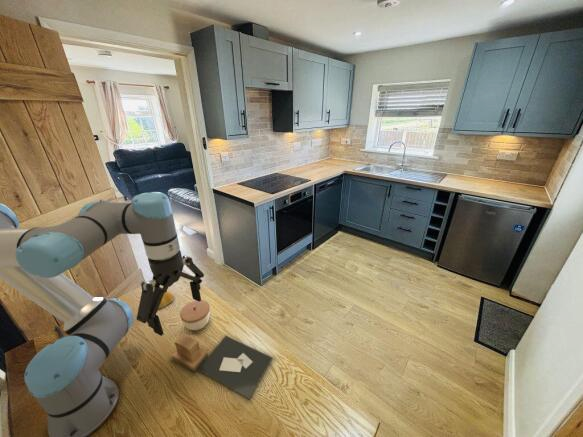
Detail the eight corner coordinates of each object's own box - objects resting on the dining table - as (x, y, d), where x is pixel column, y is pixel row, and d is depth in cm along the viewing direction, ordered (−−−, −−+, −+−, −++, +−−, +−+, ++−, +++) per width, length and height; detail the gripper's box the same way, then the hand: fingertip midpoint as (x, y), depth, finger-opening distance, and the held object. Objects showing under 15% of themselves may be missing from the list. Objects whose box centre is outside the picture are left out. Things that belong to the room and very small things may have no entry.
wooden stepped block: (172, 359, 81) (167, 342, 77) (186, 345, 86) (182, 328, 82) (194, 372, 77) (190, 355, 74) (207, 356, 82) (204, 339, 79)
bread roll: (177, 299, 107) (175, 292, 105) (157, 312, 100) (155, 305, 98) (167, 292, 111) (165, 285, 109) (147, 303, 104) (145, 296, 102)
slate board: (198, 370, 78) (197, 369, 77) (226, 337, 89) (225, 335, 89) (249, 399, 70) (249, 398, 70) (272, 359, 82) (272, 357, 81)
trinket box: (216, 314, 99) (213, 297, 95) (205, 336, 89) (201, 318, 85) (191, 312, 100) (187, 295, 96) (178, 334, 90) (173, 316, 86)
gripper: (124, 288, 48) (149, 357, 57) (210, 235, 69) (218, 291, 78) (102, 277, 51) (128, 345, 60) (191, 229, 72) (201, 285, 80)
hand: (179, 315), depth 69 cm, fingers open, 13 cm apart
